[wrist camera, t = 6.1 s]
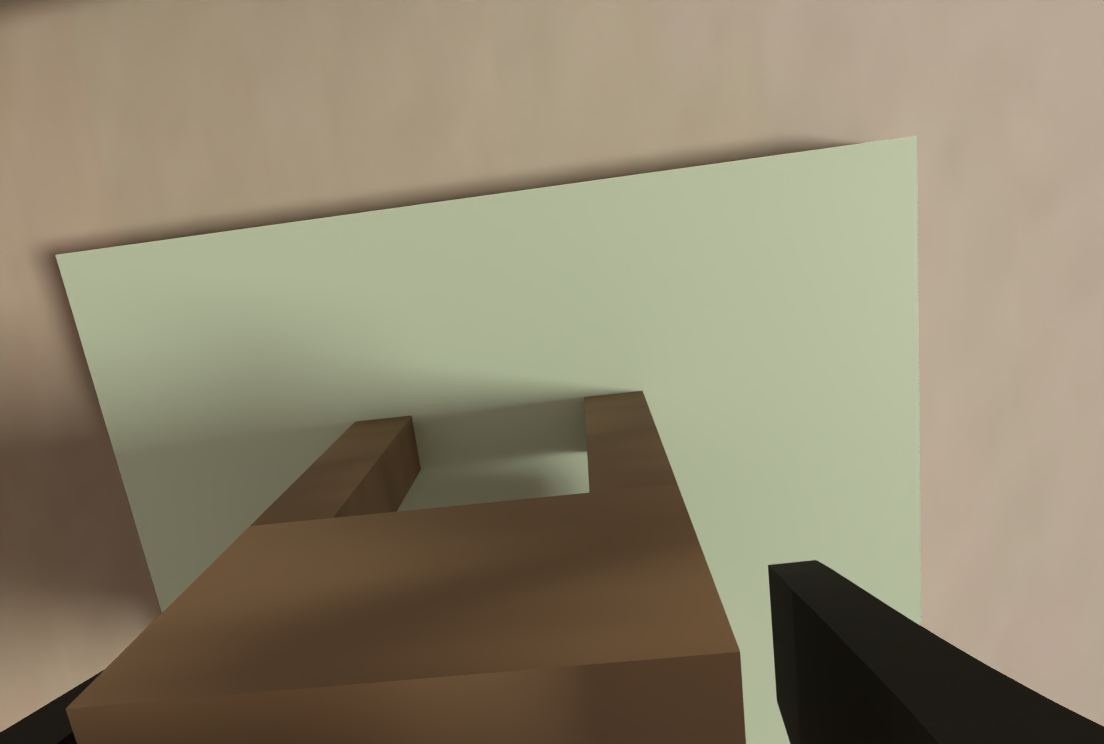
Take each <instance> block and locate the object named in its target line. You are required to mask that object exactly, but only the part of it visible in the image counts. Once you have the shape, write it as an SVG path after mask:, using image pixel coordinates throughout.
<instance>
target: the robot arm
mask: <svg viewBox="0 0 1104 744" xmlns="http://www.w3.org/2000/svg"><path fill="white" fill-rule="evenodd" d="M768 574H769V589H770V604H771V620H772V635H773V650H774V665H775V681H776V696H777V703H778V706H779V710H780V713H781V716H782V719H783V722H784V725H785V729H786V732H787V735H788V738H789V741H790V744H1104V726H1101V725H1099V724H1097V723H1095V722H1093V721H1091V720H1089V719H1087V718H1085V717H1083V716H1081V715H1079V714H1077V713H1075V712H1073V711H1071V710H1069V709H1067V708H1065V707H1063V706H1061V705H1059V704H1057V703H1055V702H1053V701H1052V700H1050V699H1048V698H1046V697H1044V696H1042V695H1040V694H1039V693H1037V692H1035V691H1033V690H1031V689H1029V688H1028V687H1026V686H1024V685H1022V684H1020V683H1018V682H1017V681H1015V680H1013V679H1011V678H1009V677H1007V676H1006V675H1004V674H1002V673H1000V672H998V671H997V670H995V669H993V668H991V667H989V666H987V665H986V664H984V663H982V662H981V661H979V660H977V659H975V658H974V657H972V656H970V655H968V654H967V653H965V652H963V651H962V650H960V649H958V648H956V647H955V646H953V645H951V644H950V643H948V642H946V641H945V640H943V639H941V638H940V637H938V636H936V635H935V634H933V633H932V632H930V631H928V630H927V629H925V628H923V627H922V626H920V625H919V624H917V623H915V622H914V621H912V620H911V619H909V618H907V617H906V616H904V615H903V614H901V613H899V612H898V611H896V610H895V609H893V608H892V607H890V606H888V605H887V604H885V603H884V602H882V601H881V600H879V599H878V598H876V597H874V596H873V595H871V594H870V593H868V592H867V591H865V590H864V589H862V588H861V587H859V586H857V585H856V584H854V583H853V582H851V581H850V580H848V579H847V578H845V577H843V576H842V575H840V574H839V573H837V572H836V571H834V570H832V569H831V568H829V567H827V566H826V565H824V564H822V563H821V562H819V561H817V560H811V561H801V562H791V563H782V564H772V565H768ZM103 671H104V670H103ZM103 671H101V672H100V673H98V674H96V675H95V676H93V677H92V678H90V679H88V680H87V681H85V682H83V683H82V684H80V685H78V686H77V687H75V688H73V689H72V690H70V691H68V692H67V693H65V694H63V695H62V696H60V697H58V698H57V699H55V700H54V701H52V702H50V703H49V704H47V705H45V706H44V707H42V708H40V709H39V710H37V711H35V712H34V713H32V714H30V715H29V716H27V717H26V718H24V719H22V720H21V721H19V722H17V723H16V724H14V725H12V726H11V727H9V728H7V729H6V730H4V731H2V732H0V744H77V742H76V739H75V736H74V733H73V730H72V727H71V724H70V721H69V718H68V715H67V712H66V708H67V707H68V706H69V705H70V704H71V703H72V702H73V701H74V700H75V699H76V698H77V697H78V696H79V695H80V694H81V693H82V692H83V691H84V690H85V689H86V688H87V687H88V686H89V685H90V684H91V683H92V682H93V681H94V680H95V679H96V678H97V677H98V676H99V675H100V674H101V673H102V672H103Z"/></svg>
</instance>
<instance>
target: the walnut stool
mask: <svg viewBox="0 0 1104 744" xmlns="http://www.w3.org/2000/svg"><path fill="white" fill-rule="evenodd" d="M584 405H585V423H586V441H587V459H588V477H589V493H580V494H570V495H560V496H549V497H539V498H529V499H519V500H509V501H499V502H489V503H479V504H468V505H458V506H448V507H438V508H428V509H418V510H408V511H398V512H397V510H398V508H399V507H400V505H401V503H402V501H403V500H404V498H405V496H406V495H407V493H408V491H409V489H410V488H411V486H412V484H413V482H414V481H415V479H416V477H417V475H418V474H419V472H420V470H421V466H420V461H419V455H418V449H417V444H416V438H415V432H414V426H413V421H412V416H403V417H393V418H384V419H374V420H365V421H356V422H354V423H353V424H352V425H351V426H350V427H349V428H348V429H347V430H346V431H345V432H344V433H343V434H342V435H341V436H340V437H339V438H338V439H337V440H336V441H335V442H334V443H333V444H332V445H331V446H330V447H329V448H328V449H327V450H326V451H325V452H324V453H323V454H322V455H321V456H320V457H319V458H318V459H317V460H316V461H315V462H314V463H313V464H312V465H311V466H310V467H309V468H308V469H307V470H306V471H305V472H304V473H303V474H302V475H301V476H300V477H299V478H298V479H297V480H296V481H295V482H294V483H293V484H292V485H291V486H290V487H289V488H288V489H287V490H286V491H285V492H284V493H283V494H282V495H281V496H280V497H279V498H278V499H277V500H276V501H275V502H274V503H273V504H272V505H271V506H269V507H268V508H267V509H266V510H265V511H264V512H263V513H262V514H261V515H260V516H259V517H258V518H257V519H256V520H255V521H254V522H253V523H252V524H251V525H250V526H249V527H248V528H247V529H246V530H245V531H244V532H243V533H242V534H241V535H240V536H239V537H238V538H237V539H236V540H235V541H234V542H233V543H232V544H231V545H230V546H229V547H228V548H227V549H226V550H225V551H224V552H223V553H222V554H221V555H220V556H219V557H218V558H217V559H216V560H215V561H214V562H213V563H212V564H211V565H210V566H209V567H208V568H207V569H206V570H205V571H204V572H203V573H202V574H201V575H200V576H199V577H198V578H197V579H196V580H195V581H194V582H193V583H192V584H191V585H190V586H189V587H188V588H187V589H186V590H185V591H184V592H183V593H182V594H181V595H180V596H179V597H178V598H177V599H176V600H175V601H174V602H173V603H172V604H171V605H170V606H169V607H168V608H167V609H166V610H165V611H164V612H163V613H162V614H161V615H160V616H158V617H157V618H156V619H155V620H154V621H153V622H152V623H151V624H150V625H149V626H148V627H147V628H146V629H145V630H144V631H143V632H142V633H141V634H140V635H139V636H138V637H137V638H136V639H135V640H134V641H133V642H132V643H131V644H130V645H129V646H128V647H127V648H126V649H125V650H124V651H123V652H122V653H121V654H120V655H119V656H118V657H117V658H116V659H115V660H114V661H113V662H112V663H111V664H110V665H109V666H108V667H107V668H106V669H105V670H104V671H103V672H102V673H101V674H100V675H99V676H98V677H97V678H96V679H95V680H94V681H93V682H92V683H91V684H90V685H89V686H88V687H87V688H86V689H85V690H84V691H83V692H82V693H81V694H80V695H79V696H78V697H77V698H76V699H75V700H74V701H73V702H72V703H71V704H70V705H69V706H68V707H67V708H66V712H67V715H68V718H69V721H70V724H71V727H72V730H73V733H74V736H75V739H76V742H77V744H746V735H745V719H744V703H743V688H742V672H741V656H740V650H739V647H738V645H737V642H736V639H735V637H734V634H733V631H732V628H731V626H730V623H729V620H728V618H727V615H726V612H725V610H724V607H723V604H722V602H721V599H720V596H719V594H718V591H717V588H716V586H715V583H714V580H713V578H712V575H711V572H710V570H709V567H708V564H707V562H706V559H705V556H704V554H703V551H702V548H701V546H700V543H699V540H698V538H697V535H696V532H695V530H694V527H693V524H692V521H691V519H690V516H689V513H688V511H687V508H686V505H685V503H684V500H683V497H682V495H681V492H680V489H679V487H678V484H677V481H676V479H675V476H674V473H673V471H672V468H671V465H670V463H669V460H668V457H667V455H666V452H665V449H664V447H663V444H662V441H661V439H660V436H659V433H658V431H657V428H656V425H655V423H654V420H653V417H652V415H651V412H650V409H649V406H648V404H647V401H646V398H645V396H644V393H643V391H636V392H627V393H618V394H608V395H599V396H590V397H584Z"/></svg>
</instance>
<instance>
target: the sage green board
mask: <svg viewBox="0 0 1104 744" xmlns="http://www.w3.org/2000/svg"><path fill="white" fill-rule="evenodd" d="M55 256H56V259H57V262H58V266H59V269H60V272H61V276H62V279H63V283H64V286H65V289H66V293H67V296H68V299H69V303H70V306H71V309H72V313H73V316H74V320H75V323H76V326H77V330H78V333H79V336H80V340H81V343H82V346H83V350H84V353H85V357H86V360H87V363H88V367H89V370H90V373H91V377H92V380H93V383H94V387H95V390H96V393H97V397H98V400H99V404H100V407H101V410H102V414H103V417H104V420H105V424H106V427H107V430H108V434H109V437H110V441H111V444H112V447H113V451H114V454H115V457H116V461H117V464H118V467H119V471H120V474H121V477H122V481H123V484H124V488H125V491H126V494H127V498H128V501H129V504H130V508H131V511H132V514H133V518H134V521H135V525H136V528H137V531H138V535H139V538H140V541H141V545H142V548H143V551H144V555H145V558H146V561H147V565H148V568H149V572H150V575H151V578H152V582H153V585H154V588H155V592H156V595H157V598H158V602H159V605H160V609H161V612H162V613H163V612H164V611H165V610H166V609H167V608H168V607H169V606H170V605H171V604H172V603H173V602H174V601H175V600H176V599H177V598H178V597H179V596H180V595H181V594H182V593H183V592H184V591H185V590H186V589H187V588H188V587H189V586H190V585H191V584H192V583H193V582H194V581H195V580H196V579H197V578H198V577H199V576H200V575H201V574H202V573H203V572H204V571H205V570H206V569H207V568H208V567H209V566H210V565H211V564H212V563H213V562H214V561H215V560H216V559H217V558H218V557H219V556H220V555H221V554H222V553H223V552H224V551H225V550H226V549H227V548H228V547H229V546H230V545H231V544H232V543H233V542H234V541H235V540H236V539H237V538H238V537H239V536H240V535H241V534H242V533H243V532H244V531H245V530H246V529H247V528H248V527H249V526H250V525H251V524H252V523H253V522H254V521H255V520H256V519H257V518H258V517H259V516H260V515H261V514H262V513H263V512H264V511H265V510H266V509H267V508H268V507H269V506H271V505H272V504H273V503H274V502H275V501H276V500H277V499H278V498H279V497H280V496H281V495H282V494H283V493H284V492H285V491H286V490H287V489H288V488H289V487H290V486H291V485H292V484H293V483H294V482H295V481H296V480H297V479H298V478H299V477H300V476H301V475H302V474H303V473H304V472H305V471H306V470H307V469H308V468H309V467H310V466H311V465H312V464H313V463H314V462H315V461H316V460H317V459H318V458H319V457H320V456H321V455H322V454H323V453H324V452H325V451H326V450H327V449H328V448H329V447H330V446H331V445H332V444H333V443H334V442H335V441H336V440H337V439H338V438H339V437H340V436H341V435H342V434H343V433H344V432H345V431H346V430H347V429H348V428H349V427H350V426H351V425H352V424H353V423H354V422H356V421H365V420H374V419H384V418H393V417H403V416H412V421H413V426H414V432H415V438H416V444H417V449H418V455H419V461H420V466H421V470H420V472H419V474H418V475H417V477H416V479H415V481H414V482H413V484H412V486H411V488H410V489H409V491H408V493H407V495H406V496H405V498H404V500H403V501H402V503H401V505H400V507H399V508H398V510H397V512H398V511H408V510H418V509H428V508H438V507H448V506H458V505H468V504H479V503H489V502H499V501H509V500H519V499H529V498H539V497H549V496H560V495H570V494H580V493H589V477H588V459H587V441H586V423H585V405H584V397H590V396H599V395H608V394H618V393H627V392H636V391H643V393H644V396H645V398H646V401H647V404H648V406H649V409H650V412H651V415H652V417H653V420H654V423H655V425H656V428H657V431H658V433H659V436H660V439H661V441H662V444H663V447H664V449H665V452H666V455H667V457H668V460H669V463H670V465H671V468H672V471H673V473H674V476H675V479H676V481H677V484H678V487H679V489H680V492H681V495H682V497H683V500H684V503H685V505H686V508H687V511H688V513H689V516H690V519H691V521H692V524H693V527H694V530H695V532H696V535H697V538H698V540H699V543H700V546H701V548H702V551H703V554H704V556H705V559H706V562H707V564H708V567H709V570H710V572H711V575H712V578H713V580H714V583H715V586H716V588H717V591H718V594H719V596H720V599H721V602H722V604H723V607H724V610H725V612H726V615H727V618H728V620H729V623H730V626H731V628H732V631H733V634H734V637H735V639H736V642H737V645H738V647H739V650H740V656H741V672H742V688H743V703H744V719H745V735H746V744H790V741H789V738H788V735H787V732H786V729H785V725H784V722H783V719H782V716H781V713H780V710H779V706H778V703H777V696H776V681H775V665H774V650H773V635H772V620H771V604H770V589H769V574H768V565H772V564H782V563H791V562H801V561H811V560H817V561H819V562H821V563H822V564H824V565H826V566H827V567H829V568H831V569H832V570H834V571H836V572H837V573H839V574H840V575H842V576H843V577H845V578H847V579H848V580H850V581H851V582H853V583H854V584H856V585H857V586H859V587H861V588H862V589H864V590H865V591H867V592H868V593H870V594H871V595H873V596H874V597H876V598H878V599H879V600H881V601H882V602H884V603H885V604H887V605H888V606H890V607H892V608H893V609H895V610H896V611H898V612H899V613H901V614H903V615H904V616H906V617H907V618H909V619H911V620H912V621H914V622H915V623H917V624H919V625H920V626H921V547H920V428H919V309H918V190H917V136H911V137H903V138H896V139H889V140H882V141H874V142H867V143H860V144H853V145H845V146H838V147H831V148H824V149H817V150H809V151H802V152H795V153H788V154H780V155H773V156H766V157H759V158H752V159H744V160H737V161H730V162H723V163H715V164H708V165H701V166H694V167H687V168H679V169H672V170H665V171H658V172H650V173H643V174H636V175H629V176H622V177H614V178H607V179H600V180H593V181H585V182H578V183H571V184H564V185H557V186H549V187H542V188H535V189H528V190H520V191H513V192H506V193H499V194H492V195H484V196H477V197H470V198H463V199H455V200H448V201H441V202H434V203H426V204H419V205H412V206H405V207H398V208H390V209H383V210H376V211H369V212H361V213H354V214H347V215H340V216H333V217H325V218H318V219H311V220H304V221H296V222H289V223H282V224H275V225H268V226H260V227H253V228H246V229H239V230H231V231H224V232H217V233H210V234H203V235H195V236H188V237H181V238H174V239H166V240H159V241H152V242H145V243H138V244H130V245H123V246H116V247H109V248H101V249H94V250H87V251H80V252H72V253H65V254H58V255H55Z"/></svg>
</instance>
